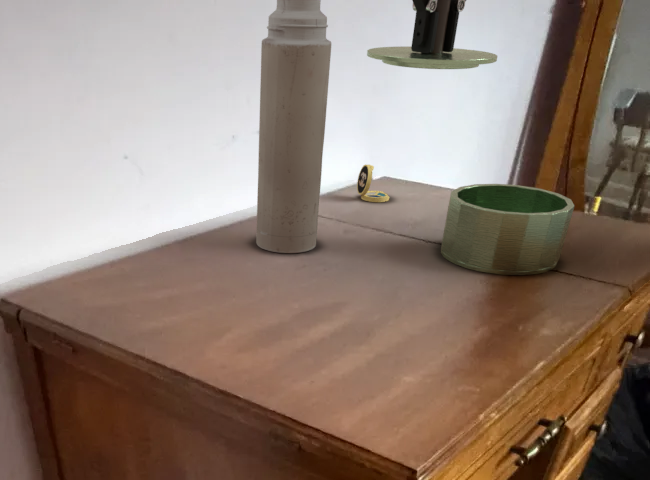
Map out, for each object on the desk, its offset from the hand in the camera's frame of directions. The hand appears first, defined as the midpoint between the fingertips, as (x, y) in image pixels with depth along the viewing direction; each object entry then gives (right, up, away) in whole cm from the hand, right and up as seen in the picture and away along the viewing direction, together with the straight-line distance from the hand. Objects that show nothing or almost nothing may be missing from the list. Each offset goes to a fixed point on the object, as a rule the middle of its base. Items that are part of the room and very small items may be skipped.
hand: (432, 50), depth 88 cm
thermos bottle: (-17, -21, +8) cm, 28 cm away
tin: (+10, -23, +6) cm, 26 cm away
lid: (0, -1, +1) cm, 1 cm away
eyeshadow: (-2, -6, +27) cm, 28 cm away
